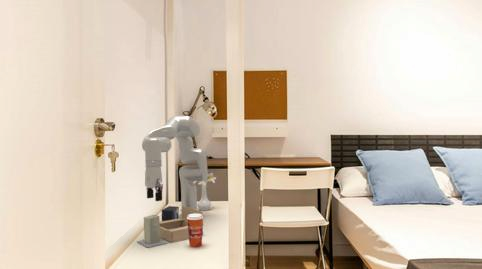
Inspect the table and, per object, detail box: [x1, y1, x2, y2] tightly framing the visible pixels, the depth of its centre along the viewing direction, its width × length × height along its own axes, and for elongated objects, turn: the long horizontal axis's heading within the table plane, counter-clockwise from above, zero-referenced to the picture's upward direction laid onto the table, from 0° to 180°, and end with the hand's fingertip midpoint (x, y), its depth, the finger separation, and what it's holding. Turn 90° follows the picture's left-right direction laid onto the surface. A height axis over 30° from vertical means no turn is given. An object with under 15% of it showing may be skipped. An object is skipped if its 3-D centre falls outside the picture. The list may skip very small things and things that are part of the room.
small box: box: [161, 205, 180, 222], centre depth 207 cm, size 11×6×10 cm, turn 168°
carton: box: [160, 206, 204, 243], centre depth 191 cm, size 22×18×12 cm
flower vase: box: [193, 172, 217, 212], centre depth 249 cm, size 13×18×25 cm
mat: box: [136, 238, 168, 249], centre depth 177 cm, size 12×10×1 cm
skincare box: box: [143, 214, 161, 244], centre depth 177 cm, size 6×4×12 cm
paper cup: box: [187, 214, 204, 248], centre depth 172 cm, size 8×8×14 cm
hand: (154, 199), depth 179 cm, fingers open, 9 cm apart
